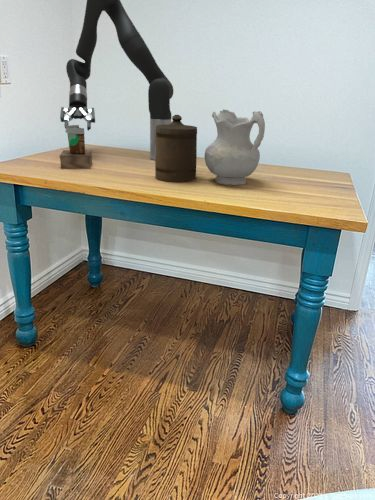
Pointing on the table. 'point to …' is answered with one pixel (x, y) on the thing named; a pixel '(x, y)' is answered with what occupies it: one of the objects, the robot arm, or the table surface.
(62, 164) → the walnut block
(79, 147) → the food container
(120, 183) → the table surface
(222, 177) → the ceramic pitcher
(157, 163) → the wooden container
